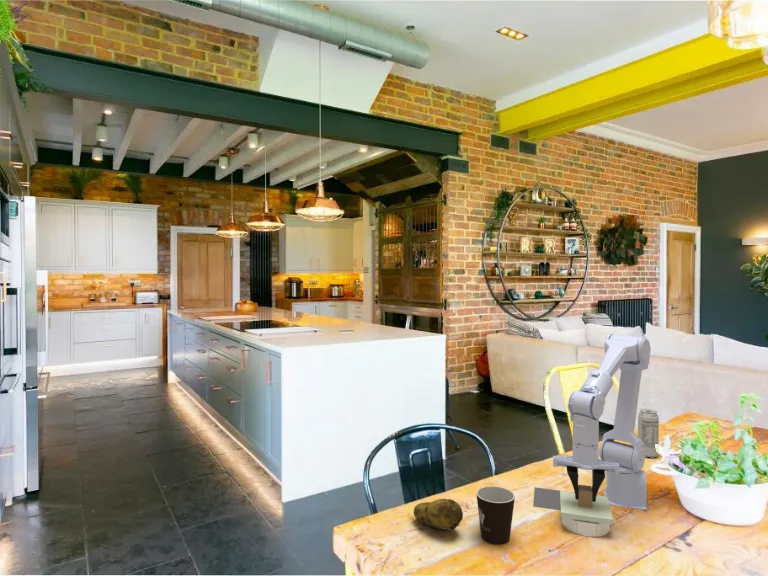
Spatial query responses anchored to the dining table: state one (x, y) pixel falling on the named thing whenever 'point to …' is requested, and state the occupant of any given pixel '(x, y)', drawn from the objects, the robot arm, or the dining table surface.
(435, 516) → the potato
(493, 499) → the coffee mug
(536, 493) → the mat
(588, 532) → the dish
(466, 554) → the dining table surface
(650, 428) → the energy drink can
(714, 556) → the dining table surface
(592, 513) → the lid
